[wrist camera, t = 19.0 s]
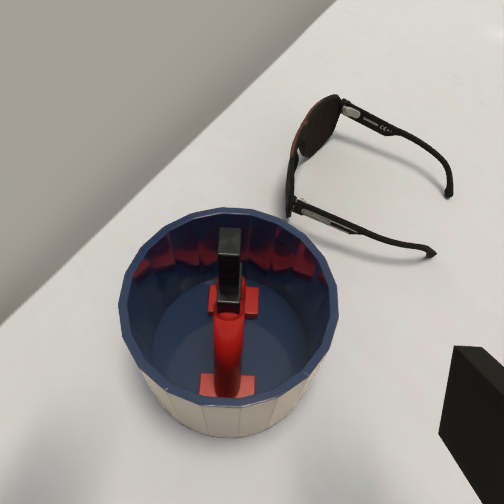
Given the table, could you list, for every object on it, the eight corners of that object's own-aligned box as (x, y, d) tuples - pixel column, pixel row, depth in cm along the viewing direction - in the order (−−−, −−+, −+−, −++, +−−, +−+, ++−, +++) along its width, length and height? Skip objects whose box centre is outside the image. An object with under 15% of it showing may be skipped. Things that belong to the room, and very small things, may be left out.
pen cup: (132, 433, 24) (96, 400, 18) (160, 272, 29) (140, 201, 23) (314, 443, 24) (344, 414, 18) (310, 281, 29) (333, 213, 23)
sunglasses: (309, 124, 37) (328, 74, 32) (446, 186, 36) (484, 144, 31) (257, 220, 31) (271, 176, 27) (415, 295, 31) (455, 262, 26)
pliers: (198, 409, 24) (175, 332, 14) (210, 290, 28) (198, 163, 18) (253, 412, 24) (268, 337, 14) (258, 292, 28) (272, 168, 18)
